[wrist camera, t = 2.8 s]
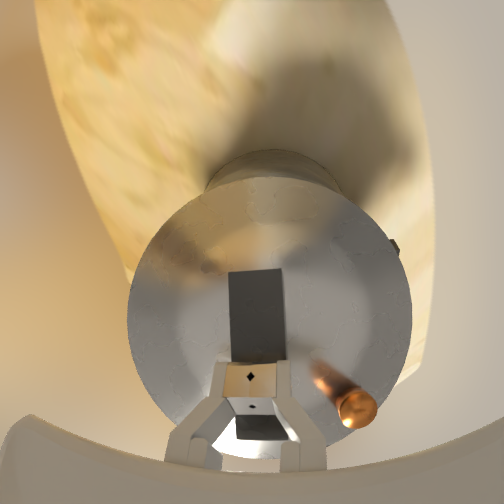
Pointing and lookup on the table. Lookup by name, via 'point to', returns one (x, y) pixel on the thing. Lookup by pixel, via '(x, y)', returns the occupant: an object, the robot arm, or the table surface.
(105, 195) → the table surface
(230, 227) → the cooker lid
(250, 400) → the robot arm
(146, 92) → the table surface
